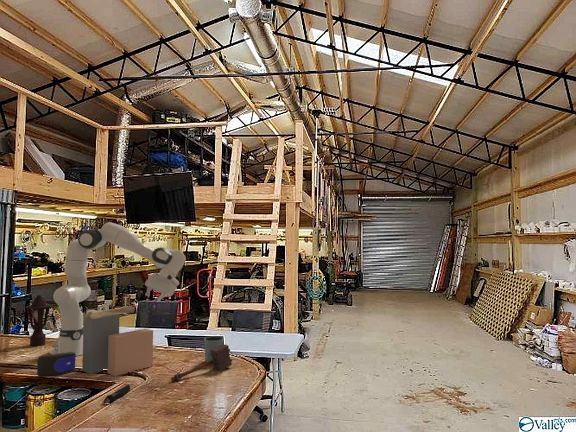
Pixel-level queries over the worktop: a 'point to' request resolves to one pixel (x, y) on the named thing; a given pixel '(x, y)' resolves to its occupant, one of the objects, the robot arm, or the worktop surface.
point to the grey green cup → (211, 345)
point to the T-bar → (108, 312)
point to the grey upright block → (97, 342)
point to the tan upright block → (130, 351)
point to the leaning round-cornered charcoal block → (56, 364)
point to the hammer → (212, 361)
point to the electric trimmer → (117, 394)
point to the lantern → (38, 320)
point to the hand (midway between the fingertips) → (152, 298)
